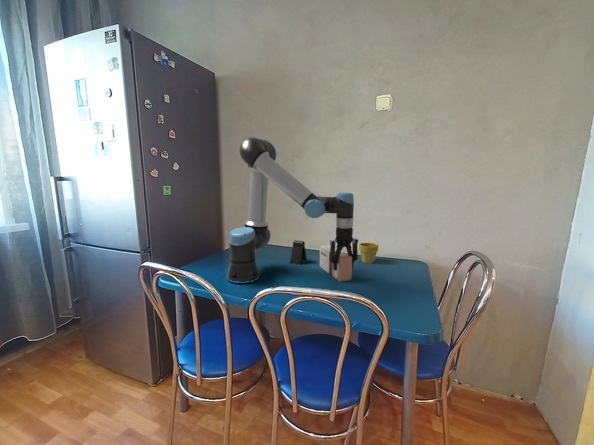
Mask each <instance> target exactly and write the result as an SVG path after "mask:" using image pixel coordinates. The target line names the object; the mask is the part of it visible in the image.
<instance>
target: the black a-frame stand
mask: <svg viewBox="0 0 594 445" xmlns="http://www.w3.org/2000/svg"><path fill="white" fill-rule="evenodd" d="M305 244H306V243H305V241H302V240H295V239H294V240H293V241H292V249H291V254H290V259H289V260H290V261H289V263H290V264H293V263H295V265H298V264H300V265H302V264H304V263H306V262H308V256H307V250H306V246H305ZM305 261H306V262H305ZM303 262H304V263H303ZM301 263H302V264H301Z"/></svg>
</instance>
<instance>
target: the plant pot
mask: <svg viewBox="0 0 594 445" xmlns="http://www.w3.org/2000/svg"><path fill="white" fill-rule="evenodd" d="M358 250H359V252H360V259H361V262H363V263H365V264H373V263H375V260H376V255H377V253H378V251H379V244H377V243H373V242H361V243H359V245H358Z"/></svg>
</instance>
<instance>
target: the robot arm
mask: <svg viewBox="0 0 594 445" xmlns="http://www.w3.org/2000/svg"><path fill="white" fill-rule="evenodd" d="M239 146H240V147H239V155H240V158H241V159H242V160H243V162H245V163H246V164H247V168H248V169H249V171H250V181H249V182H250V183H249V199H248V202H249V203H248V215H247V216H248V219H247V220H246V221H245V222H244V226H241V227H237V228H234V229H232V230H230V231H229V236H228V245H229V247H228V248H229V266H228V270H227V274H226V279H227V278H228V279H229V280H232V281H239V282H246V281H252V280H255V279H257V278H259V276H261V275H260V273H261V272H260V271H259V267H258V265H257V262H256V252H257V251H258V250H261V249H263V248H265V246H267V245H268V244H269V242H270V241H271V231H270V229H269V224H268V222H267V221H266V218H267V217H266V216H267V201H268V191H269V190H268V187H269V186H268V185H269V181H270V182H272V183H273V184H274V185H275V186H276V187H277V188H278V189H279V190H281V191H282V192H283V193H285V195H286V196H288V197H289V198H290V199H292V200H293V201H294V202H295V203H297V205H298V206H300V207H301V209H303V210H304V213H305V214H306V215H307V217H309V218H311V219H317V218H320V217H322V216H323V215H325V214H336V221H335V224H336V225H335V226H336V228H335V238H334V239H333V240H330V241H329V245H331V246H330V258H329V261H330V262H332V263H333V269H334V270H335V276H336V277H337V278H338V277H339V263H338V259H339V256H340V253H342V250H343V248H346V252H347V253H346V254H347V255H349V256H351V257H352V269H353V268H354V263H355V262H356V261H357V260H358V258H359V257H358V255H359V254H358V243H359V239H357V238H354V237H353V235H354V234H353V233H354V231H353V230H354V228H353V226H354V211H355V210H354V207H355V206H354V205H355V204H354V203H355V200H354V199H355V198H354V194H353V193H352V192H337V193H336V196H320V195H316V194H314V193H313V192H312V191H311V190H310V189H309V188H307V186H305V185H304V184H303V183H302V182H300V180H298V179H297V178H295V176H293V175H292V174H291V173H290V172H288V171H287V170H286V169H285V168H284V167H282V166H281V165H280V164H279V163H278V162H277V161H276V159H277V154H278V153H277V150H276V148H275V146H274V144H273V143H271V142H269V141H268V140H266V139H261V138H258V137H257V138H256V137H248V138H246V139H244V140H243V141H242V142H241V143H240V145H239ZM336 244H337V245H336ZM351 244H352V246H351ZM335 248H336V252H335ZM352 276H353V273H352V274H351V277H352ZM259 279H260V278H259Z"/></svg>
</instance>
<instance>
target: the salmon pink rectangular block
mask: <svg viewBox="0 0 594 445" xmlns="http://www.w3.org/2000/svg"><path fill="white" fill-rule="evenodd" d="M338 263H339V277H338V278H337V277H336V276H335V270H334V269H333V263H332V273H331V276H332V277H333V278H335V279H336V280H337V281H338V282H345V281H352V276H351V274H352V275H353V268H352V257H351V256H349V255H348V253H345V252H341V253H340V256H339V259H338Z"/></svg>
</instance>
